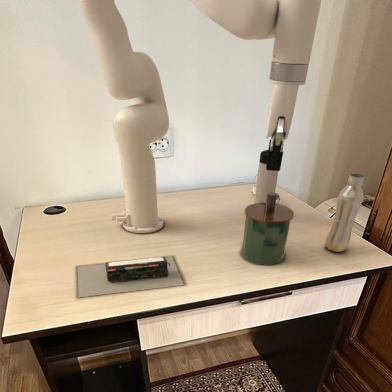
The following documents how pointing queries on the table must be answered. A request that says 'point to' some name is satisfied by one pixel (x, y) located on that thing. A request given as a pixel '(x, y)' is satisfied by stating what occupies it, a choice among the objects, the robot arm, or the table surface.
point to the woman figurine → (276, 199)
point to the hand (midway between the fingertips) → (273, 164)
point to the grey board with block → (127, 276)
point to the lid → (269, 211)
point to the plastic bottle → (345, 213)
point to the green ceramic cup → (264, 242)
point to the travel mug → (264, 179)
